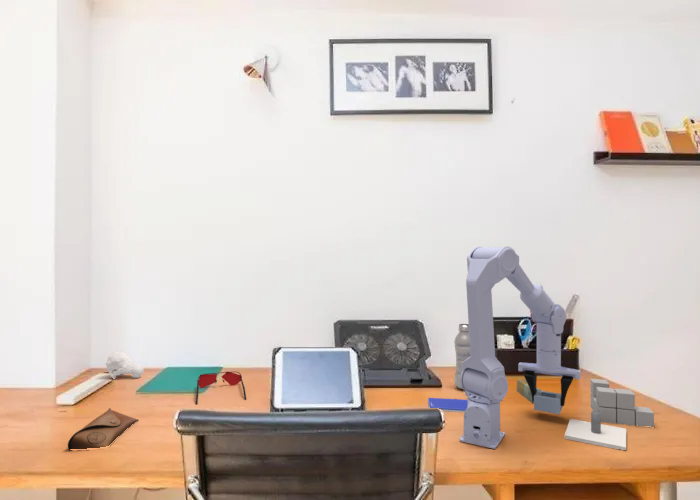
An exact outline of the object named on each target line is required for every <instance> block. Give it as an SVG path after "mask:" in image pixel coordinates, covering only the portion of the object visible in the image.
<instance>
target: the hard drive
mask: <svg viewBox="0 0 700 500" xmlns="http://www.w3.org/2000/svg"><path fill="white" fill-rule="evenodd" d="M427 404H428V408H429V407H430V408H439V409H441V410H443V411H445V412H446V411H447V412H446V413H449V412H450V413H464V412H465V410H466V409H467V399H461V398H460V399H459V398H457V399H456V398H441V397H440V398H439V397H428V398H427ZM443 411H442V412H443Z"/></svg>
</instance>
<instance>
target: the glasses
mask: <svg viewBox="0 0 700 500" xmlns="http://www.w3.org/2000/svg"><path fill="white" fill-rule="evenodd" d="M220 374H223V375H221V378H222V382H223V383H225V382H226V383H228V385H230V386H236V385H238V384H239V383H240V382H241V386H242V391H243V398H244V401H247V395H246V388H245V385H244V381H243V378H242V377H243V376H242V373H240V372H239V371H236V372H233V371H223V372H220ZM217 378H218V372H209V373H202V374H199V376H198V378H197V380H196V382H197V383H196V395H195V396H196V397H195V405H198V403H199V402H198V401H199V390H200V389H203V388H206V387H208V386H210V385H213V384H215V385H216V384H217V382H218V380H217Z"/></svg>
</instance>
